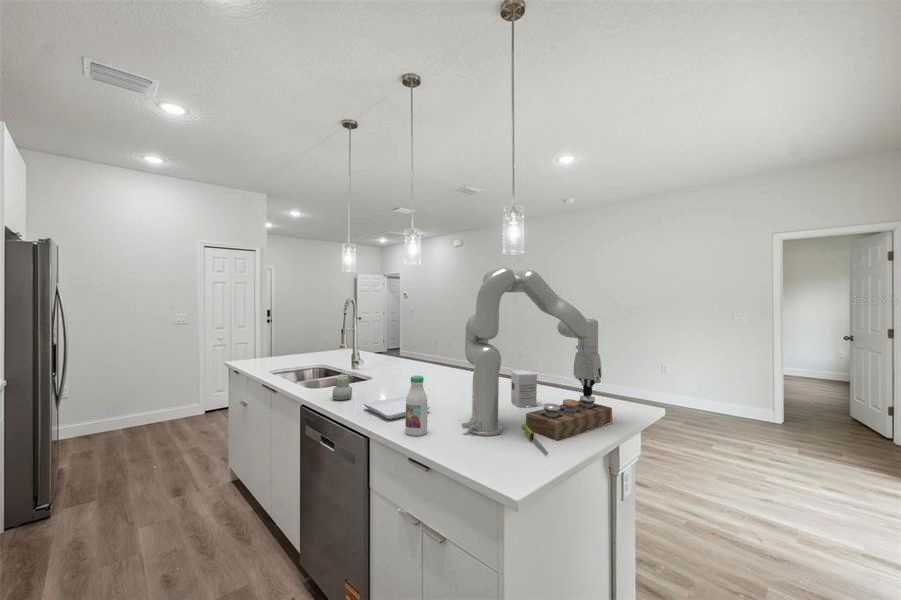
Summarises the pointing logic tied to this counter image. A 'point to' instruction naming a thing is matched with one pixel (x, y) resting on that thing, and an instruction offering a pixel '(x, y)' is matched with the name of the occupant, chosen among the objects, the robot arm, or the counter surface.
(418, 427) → the milk bottle
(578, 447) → the counter surface
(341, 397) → the air freshener
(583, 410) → the brown wooden rectangular block
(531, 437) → the kitchen knife
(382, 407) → the salad plate
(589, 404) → the knob far
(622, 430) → the counter surface
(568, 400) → the knob middle
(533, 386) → the supplement box
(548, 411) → the knob near
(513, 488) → the counter surface
